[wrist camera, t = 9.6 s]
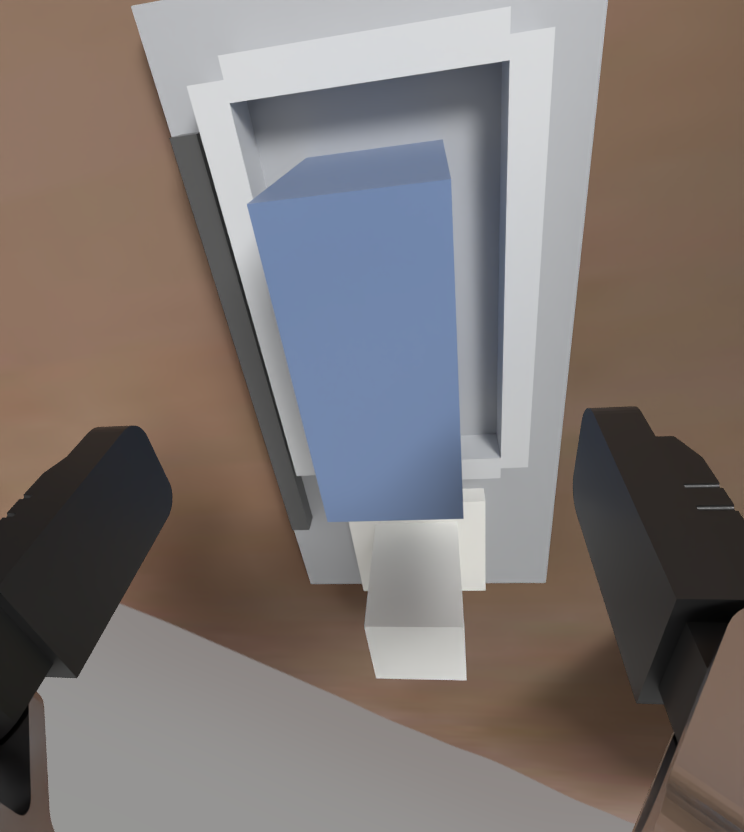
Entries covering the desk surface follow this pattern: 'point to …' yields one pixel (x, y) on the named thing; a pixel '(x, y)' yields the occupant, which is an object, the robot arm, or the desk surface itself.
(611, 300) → the desk surface
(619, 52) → the desk surface
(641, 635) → the robot arm
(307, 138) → the dock
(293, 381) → the blue block
